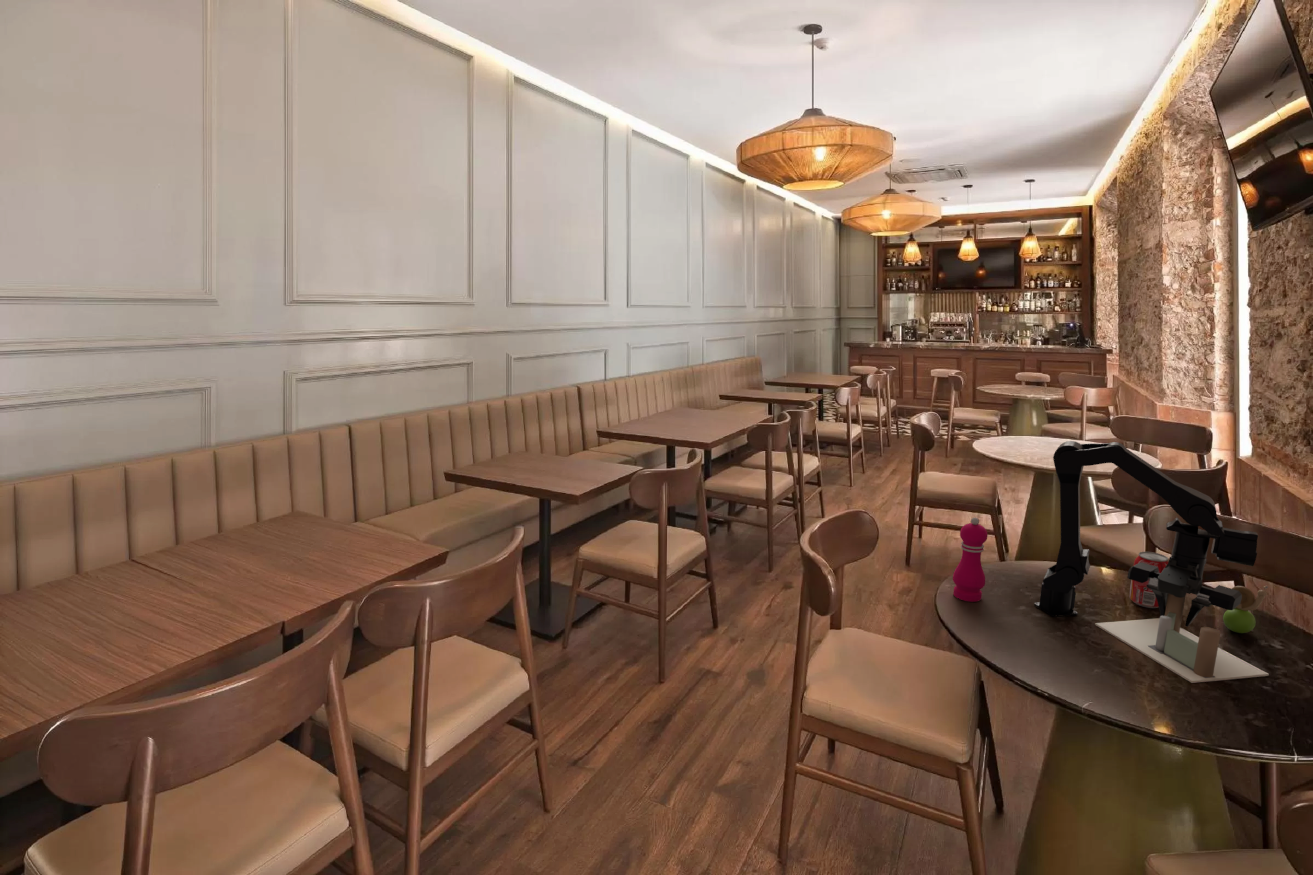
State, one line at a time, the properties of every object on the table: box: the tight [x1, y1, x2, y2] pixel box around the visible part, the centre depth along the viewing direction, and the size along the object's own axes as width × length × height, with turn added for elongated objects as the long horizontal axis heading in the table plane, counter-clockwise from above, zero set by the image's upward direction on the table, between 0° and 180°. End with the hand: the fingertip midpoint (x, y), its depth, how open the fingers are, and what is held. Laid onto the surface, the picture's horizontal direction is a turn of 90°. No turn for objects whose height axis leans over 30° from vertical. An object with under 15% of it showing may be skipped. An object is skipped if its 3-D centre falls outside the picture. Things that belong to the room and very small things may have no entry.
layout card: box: [1094, 617, 1269, 684], centre depth 145 cm, size 17×24×1 cm
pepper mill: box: [952, 517, 988, 603], centre depth 168 cm, size 7×7×20 cm
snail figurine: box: [1222, 585, 1269, 634], centre depth 151 cm, size 5×6×12 cm
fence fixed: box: [1155, 615, 1221, 677], centre depth 138 cm, size 12×3×9 cm, turn 9°
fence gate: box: [1164, 594, 1186, 633], centre depth 147 cm, size 10×3×9 cm, turn 135°
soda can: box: [1129, 551, 1169, 609], centre depth 165 cm, size 7×7×12 cm
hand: (1174, 621), depth 150 cm, fingers open, 4 cm apart
